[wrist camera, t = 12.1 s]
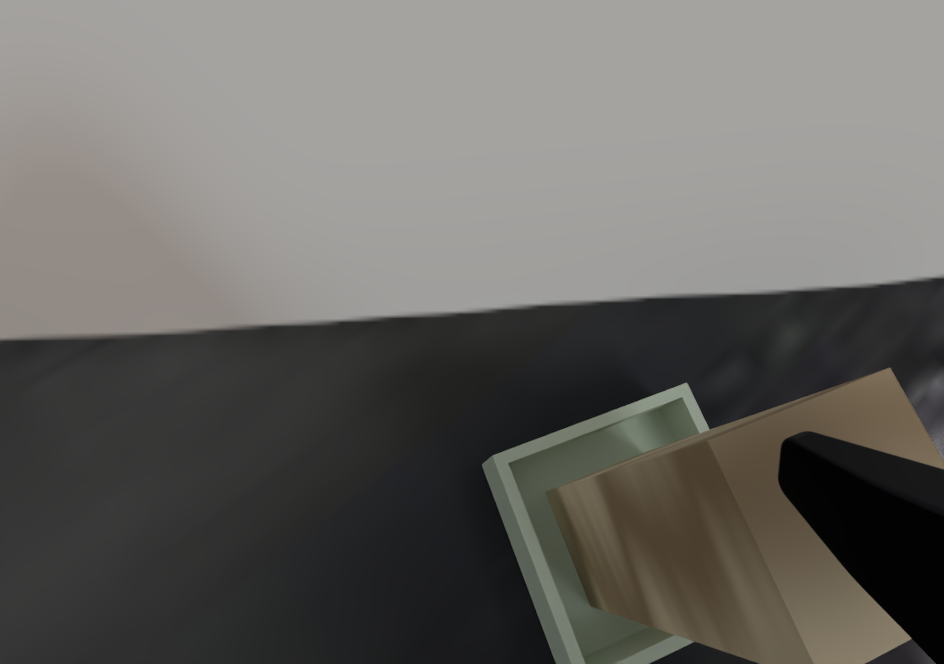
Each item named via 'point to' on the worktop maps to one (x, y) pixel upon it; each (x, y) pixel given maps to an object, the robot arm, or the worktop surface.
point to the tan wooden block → (738, 533)
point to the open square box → (541, 542)
